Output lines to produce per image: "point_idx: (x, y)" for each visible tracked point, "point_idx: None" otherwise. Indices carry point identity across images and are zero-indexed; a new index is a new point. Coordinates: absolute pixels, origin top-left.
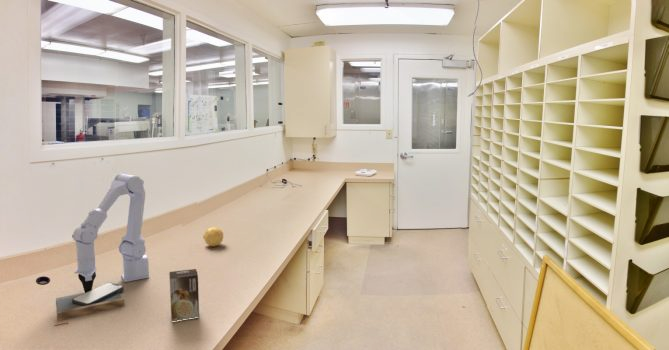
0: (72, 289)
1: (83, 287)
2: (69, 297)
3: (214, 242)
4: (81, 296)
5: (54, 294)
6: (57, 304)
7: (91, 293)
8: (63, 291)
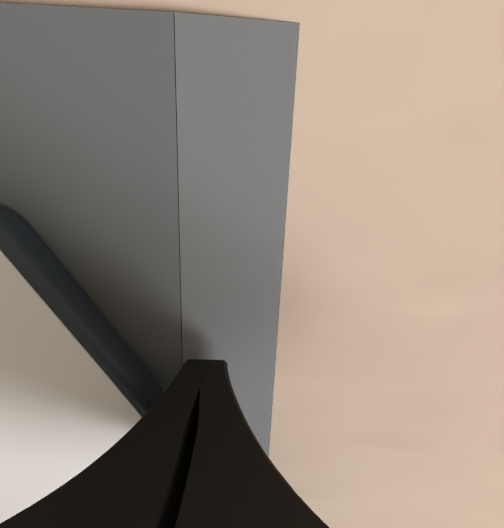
0: (464, 238)
1: (157, 402)
2: (200, 185)
3: None
4: (14, 324)
5: (457, 6)
6: (15, 12)
7: (55, 427)
8: (478, 133)
